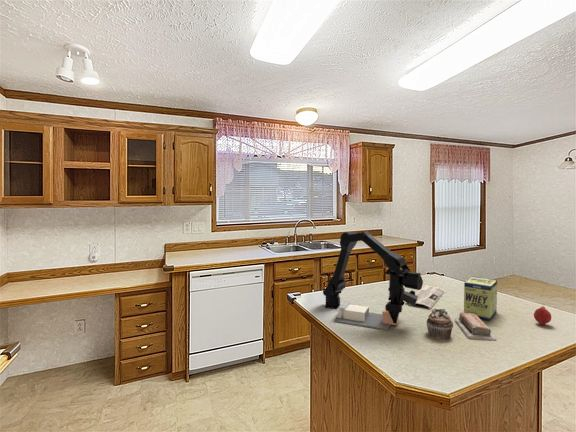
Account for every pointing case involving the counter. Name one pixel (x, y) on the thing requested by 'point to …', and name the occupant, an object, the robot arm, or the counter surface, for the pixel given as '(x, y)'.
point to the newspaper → (428, 295)
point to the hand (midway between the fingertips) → (396, 321)
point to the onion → (542, 315)
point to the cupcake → (439, 324)
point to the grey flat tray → (360, 317)
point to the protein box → (480, 297)
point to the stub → (388, 318)
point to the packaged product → (474, 327)
